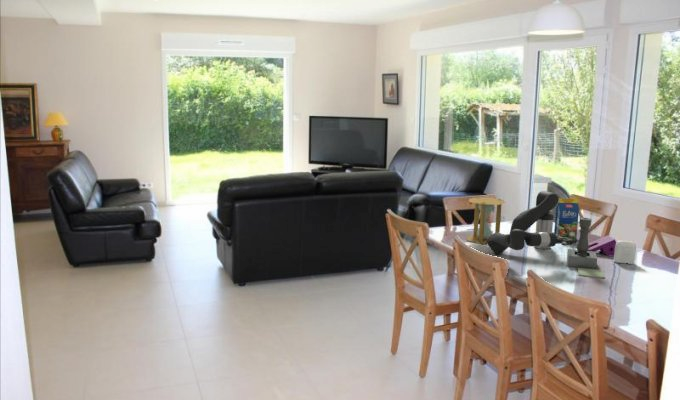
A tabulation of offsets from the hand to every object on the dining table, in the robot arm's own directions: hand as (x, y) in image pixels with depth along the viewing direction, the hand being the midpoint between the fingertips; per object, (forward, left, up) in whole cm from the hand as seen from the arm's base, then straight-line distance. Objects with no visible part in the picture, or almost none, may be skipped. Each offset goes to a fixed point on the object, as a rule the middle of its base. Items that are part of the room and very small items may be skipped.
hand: (571, 239), depth 306 cm
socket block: (+6, +5, -15) cm, 17 cm away
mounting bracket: (+16, +34, -15) cm, 41 cm away
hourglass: (-48, +38, -15) cm, 63 cm away
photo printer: (+28, +18, -15) cm, 37 cm away
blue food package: (-1, +65, -15) cm, 67 cm away
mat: (+10, -10, -15) cm, 20 cm away
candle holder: (+6, +5, -15) cm, 17 cm away
